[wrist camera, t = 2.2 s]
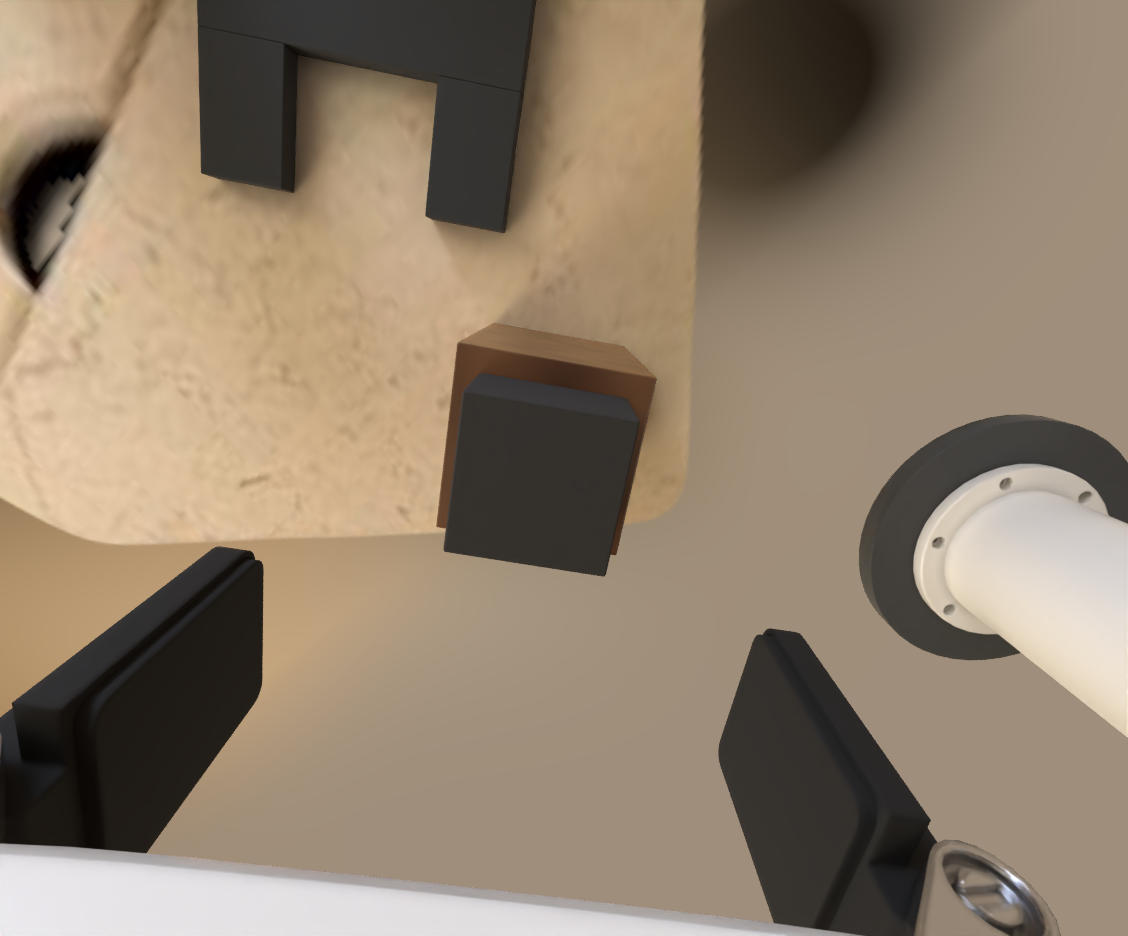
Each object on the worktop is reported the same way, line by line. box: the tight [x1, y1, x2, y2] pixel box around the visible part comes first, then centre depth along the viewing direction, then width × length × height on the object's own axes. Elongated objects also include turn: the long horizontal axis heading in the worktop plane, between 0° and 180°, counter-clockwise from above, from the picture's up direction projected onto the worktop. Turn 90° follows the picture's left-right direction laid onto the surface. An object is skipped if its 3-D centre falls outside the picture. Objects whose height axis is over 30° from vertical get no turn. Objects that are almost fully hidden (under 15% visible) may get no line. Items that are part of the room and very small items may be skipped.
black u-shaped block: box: [197, 0, 536, 233], centre depth 28 cm, size 16×14×2 cm
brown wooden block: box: [436, 323, 657, 555], centre depth 29 cm, size 8×8×12 cm
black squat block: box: [444, 373, 640, 576], centre depth 21 cm, size 6×6×4 cm
